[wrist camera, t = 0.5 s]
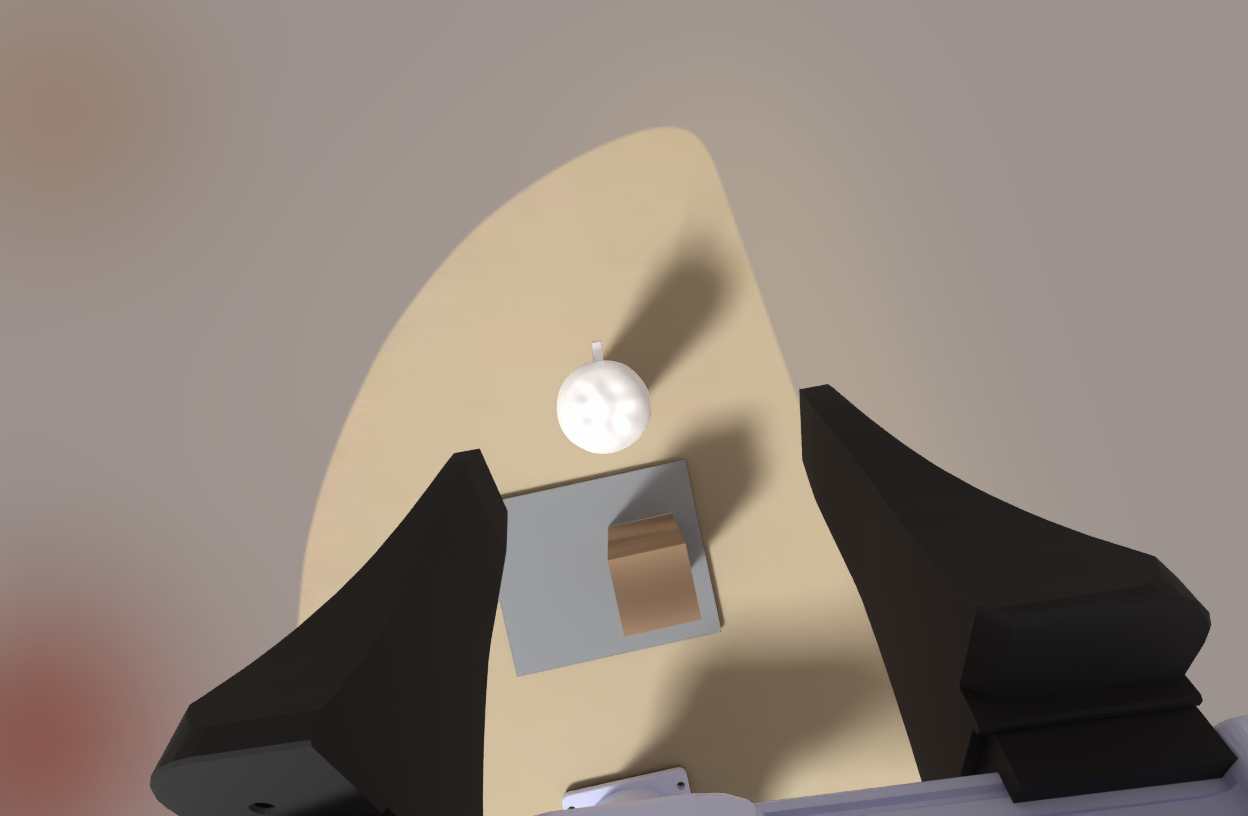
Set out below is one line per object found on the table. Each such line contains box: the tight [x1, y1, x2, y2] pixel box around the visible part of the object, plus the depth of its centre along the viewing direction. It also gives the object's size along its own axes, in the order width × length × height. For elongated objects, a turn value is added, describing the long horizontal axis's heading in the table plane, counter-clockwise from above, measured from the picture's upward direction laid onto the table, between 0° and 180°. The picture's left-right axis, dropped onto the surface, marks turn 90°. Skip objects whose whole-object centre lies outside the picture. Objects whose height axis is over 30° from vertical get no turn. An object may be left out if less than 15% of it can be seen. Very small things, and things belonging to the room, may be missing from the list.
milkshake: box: [557, 341, 651, 454], centre depth 33 cm, size 4×5×10 cm
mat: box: [499, 459, 721, 677], centre depth 38 cm, size 11×13×1 cm
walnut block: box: [608, 513, 702, 637], centre depth 35 cm, size 4×4×7 cm
